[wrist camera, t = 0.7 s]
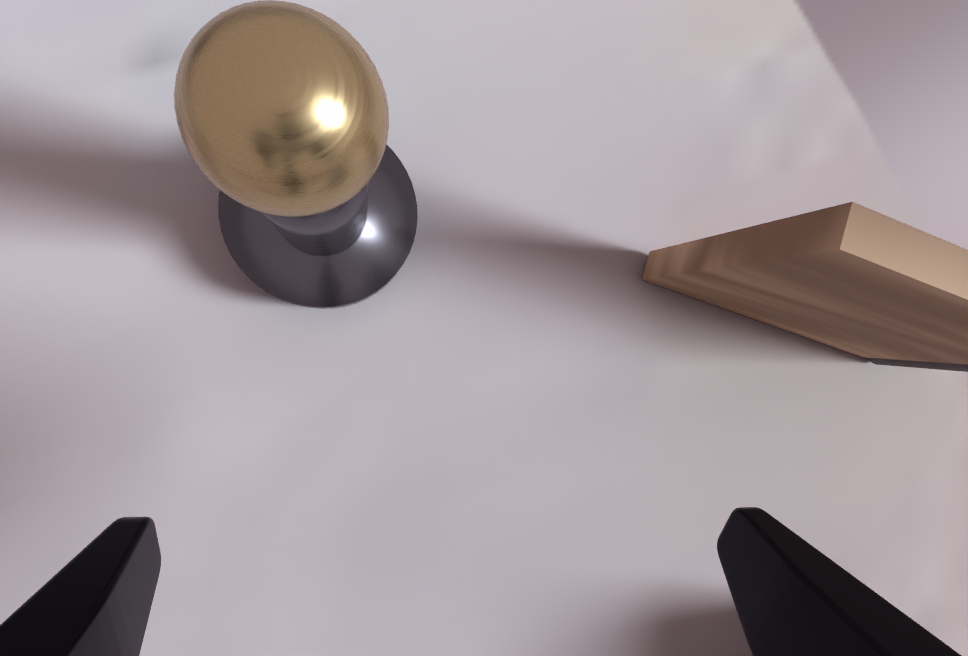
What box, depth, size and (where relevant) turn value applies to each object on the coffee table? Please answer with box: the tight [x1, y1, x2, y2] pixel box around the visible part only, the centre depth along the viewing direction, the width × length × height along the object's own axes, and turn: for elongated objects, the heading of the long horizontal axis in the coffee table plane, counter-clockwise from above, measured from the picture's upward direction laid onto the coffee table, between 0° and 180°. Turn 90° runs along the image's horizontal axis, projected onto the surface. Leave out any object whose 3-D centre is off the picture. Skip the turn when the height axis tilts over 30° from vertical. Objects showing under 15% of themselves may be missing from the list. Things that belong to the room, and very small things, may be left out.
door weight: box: [174, 0, 417, 309], centre depth 15 cm, size 6×6×13 cm
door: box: [642, 202, 968, 372], centre depth 20 cm, size 1×13×10 cm, turn 73°
